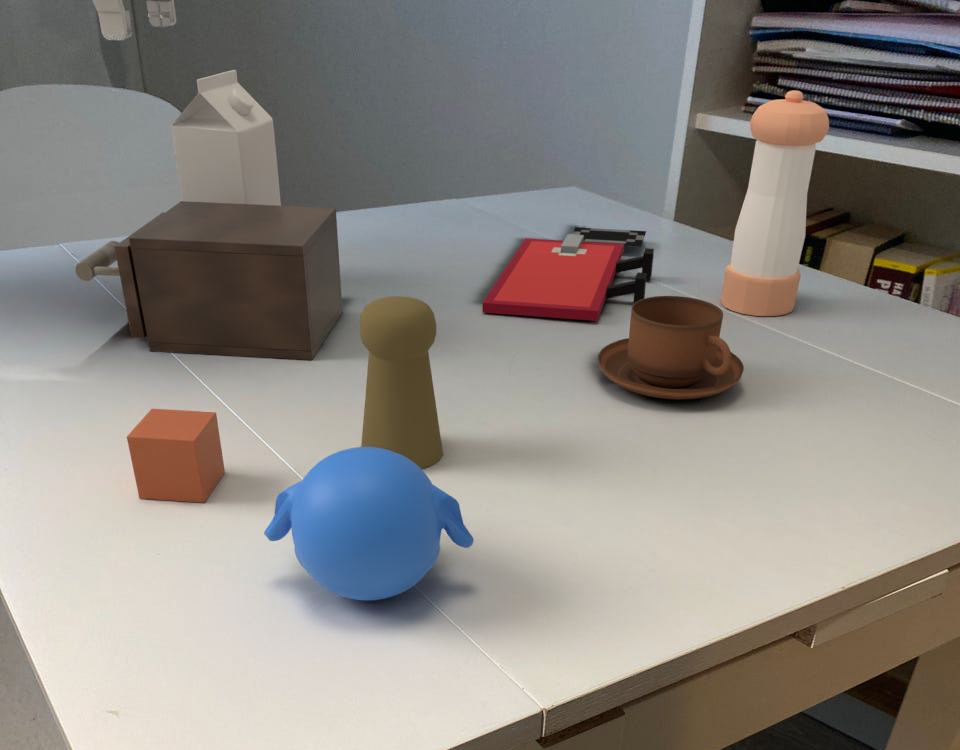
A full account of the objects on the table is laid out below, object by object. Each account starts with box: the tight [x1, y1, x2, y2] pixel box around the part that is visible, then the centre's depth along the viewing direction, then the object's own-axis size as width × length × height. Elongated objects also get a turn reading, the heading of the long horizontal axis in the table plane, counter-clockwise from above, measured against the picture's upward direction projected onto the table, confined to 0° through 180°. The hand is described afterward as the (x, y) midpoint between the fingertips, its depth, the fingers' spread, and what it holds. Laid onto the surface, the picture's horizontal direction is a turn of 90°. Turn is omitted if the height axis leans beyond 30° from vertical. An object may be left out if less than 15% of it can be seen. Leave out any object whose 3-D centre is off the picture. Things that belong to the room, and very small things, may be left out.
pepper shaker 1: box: [359, 295, 444, 470], centre depth 70 cm, size 6×6×11 cm
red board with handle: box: [481, 226, 655, 322], centre depth 108 cm, size 30×3×15 cm
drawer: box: [74, 211, 165, 339], centre depth 91 cm, size 18×11×8 cm, turn 84°
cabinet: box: [129, 200, 343, 361], centre depth 90 cm, size 15×13×10 cm
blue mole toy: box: [263, 446, 475, 601], centre depth 58 cm, size 12×12×8 cm
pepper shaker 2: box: [720, 89, 830, 317], centre depth 96 cm, size 7×7×19 cm
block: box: [126, 408, 226, 504], centre depth 68 cm, size 4×4×4 cm
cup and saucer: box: [597, 295, 745, 400], centre depth 83 cm, size 12×12×6 cm
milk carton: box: [170, 69, 282, 206], centre depth 99 cm, size 7×7×19 cm
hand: (142, 32), depth 78 cm, fingers open, 8 cm apart
